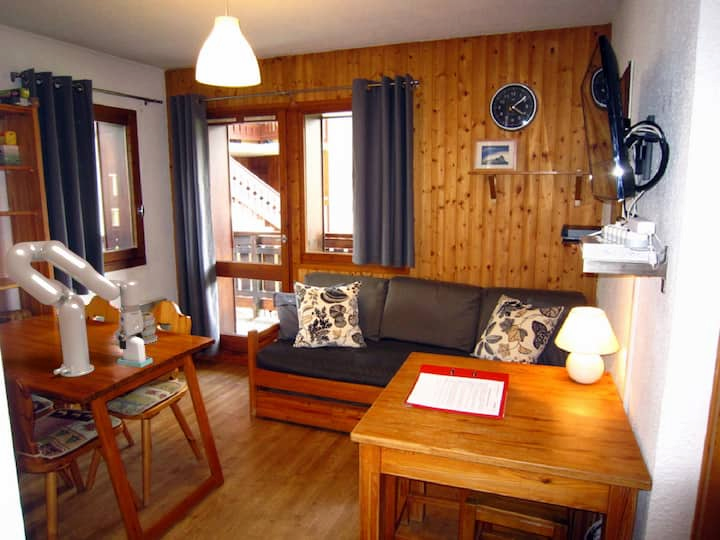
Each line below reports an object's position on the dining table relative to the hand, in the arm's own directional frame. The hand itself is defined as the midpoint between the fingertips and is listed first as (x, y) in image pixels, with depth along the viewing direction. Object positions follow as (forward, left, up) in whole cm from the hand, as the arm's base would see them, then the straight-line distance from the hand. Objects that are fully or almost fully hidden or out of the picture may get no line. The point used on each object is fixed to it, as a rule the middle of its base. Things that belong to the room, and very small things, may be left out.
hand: (131, 345), depth 226 cm
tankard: (+24, +20, -8) cm, 32 cm away
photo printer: (+1, -1, -8) cm, 8 cm away
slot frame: (+1, -1, -8) cm, 8 cm away
